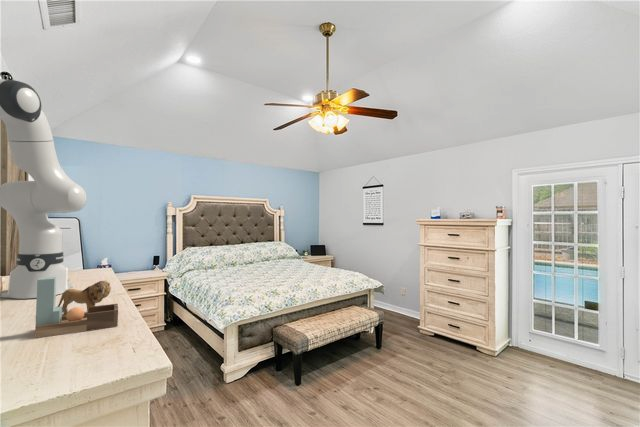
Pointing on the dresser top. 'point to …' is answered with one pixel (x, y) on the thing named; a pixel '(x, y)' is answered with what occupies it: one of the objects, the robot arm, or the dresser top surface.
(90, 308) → the dark brown open box
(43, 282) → the grey-green l-shaped block
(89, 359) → the dresser top surface
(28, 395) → the dresser top surface
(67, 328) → the lane
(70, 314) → the ball
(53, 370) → the dresser top surface
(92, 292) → the lion figurine
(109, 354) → the dresser top surface
